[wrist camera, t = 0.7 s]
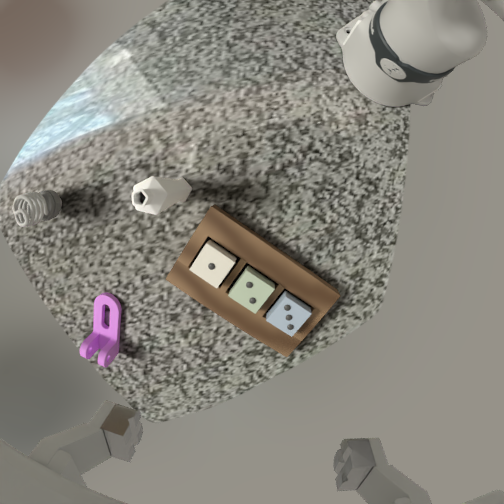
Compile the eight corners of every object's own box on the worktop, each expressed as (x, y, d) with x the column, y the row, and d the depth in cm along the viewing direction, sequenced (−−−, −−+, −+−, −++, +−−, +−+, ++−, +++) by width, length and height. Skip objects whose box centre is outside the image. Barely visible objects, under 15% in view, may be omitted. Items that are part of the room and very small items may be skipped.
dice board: (214, 204, 46) (211, 206, 44) (337, 289, 48) (340, 295, 46) (170, 274, 50) (165, 279, 47) (286, 349, 52) (286, 357, 49)
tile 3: (285, 290, 47) (285, 296, 44) (310, 306, 47) (311, 314, 45) (266, 313, 48) (265, 320, 46) (291, 329, 49) (291, 337, 46)
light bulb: (74, 197, 48) (31, 206, 36) (64, 222, 49) (22, 236, 37) (56, 182, 47) (13, 187, 35) (46, 206, 48) (4, 217, 37)
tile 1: (209, 239, 46) (206, 243, 43) (237, 257, 46) (235, 262, 44) (193, 264, 47) (188, 269, 45) (219, 282, 48) (216, 288, 45)
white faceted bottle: (196, 178, 45) (162, 181, 31) (190, 205, 46) (154, 220, 32) (169, 172, 45) (125, 173, 31) (164, 199, 46) (119, 211, 32)
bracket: (119, 352, 55) (104, 370, 49) (96, 342, 55) (80, 359, 49) (123, 297, 52) (105, 313, 45) (98, 288, 52) (78, 302, 45)
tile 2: (248, 265, 46) (246, 270, 44) (274, 283, 47) (274, 289, 44) (230, 289, 48) (227, 296, 45) (256, 306, 48) (255, 314, 46)
